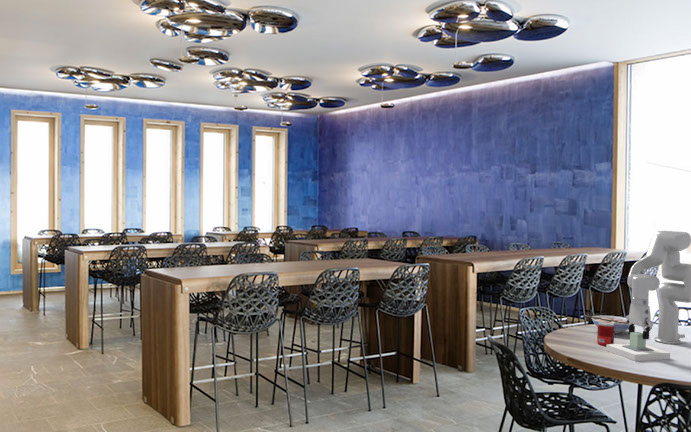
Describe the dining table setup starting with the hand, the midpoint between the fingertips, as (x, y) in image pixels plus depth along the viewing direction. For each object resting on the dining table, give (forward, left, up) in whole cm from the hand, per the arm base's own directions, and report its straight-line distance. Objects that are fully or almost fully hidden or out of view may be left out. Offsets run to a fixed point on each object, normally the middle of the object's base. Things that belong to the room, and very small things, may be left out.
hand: (638, 336), depth 307 cm
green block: (0, 0, -5) cm, 5 cm away
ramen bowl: (-22, -46, -9) cm, 51 cm away
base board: (0, 0, -9) cm, 9 cm away
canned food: (+2, -21, -9) cm, 23 cm away
